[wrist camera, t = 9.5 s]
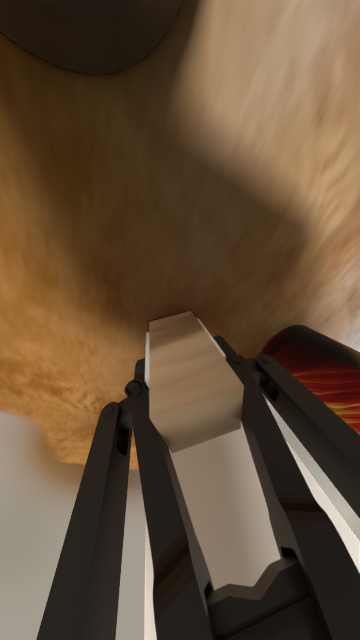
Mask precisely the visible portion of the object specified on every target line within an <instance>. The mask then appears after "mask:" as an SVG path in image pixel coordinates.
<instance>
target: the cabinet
mask: <svg viewBox="0 0 360 640" xmlns="http://www.w3.org/2000/svg"><path fill="white" fill-rule="evenodd" d="M285 440H286V439H285ZM286 442H287V441H286ZM287 444H288V442H287ZM288 446H289V448H290V451H291V453H292V455H293V457H294V459H295V461H296V463H297V465H298V467H299V469H300V471H301V473H302V475H303V477H304V479H305V481H306V483H307V485H308V487H309V489H310V491H311V493H312V495H313V496H314V498H315V500H316V501H317V503H318V504H319V505H320V506H321V508H322V509H323V510H324V511H325V512H326V513H327V515H328V516H329V518H330V519H331V521H332V522H333V524H334V526H335V527H336V529H337V531H338V533H339V535H340V537H341V538H342V540H343V542H344V544H345V546H346V548H347V550H348V552H349V554H350V556H351V558H352V559H353V561H354V563H355V565H356V567H357V569H358V571H359V573H360V541H359V540H358V539H357V537H356V536H355V534H354V533H353V532H352V530H351V529H350V528H349V526H348V525H347V523H346V522H345V521H344V519H343V518H342V517H341V515H340V514H339V513H338V511H337V510H336V508H335V507H334V505H333V504H332V503H331V501H330V500H329V499H328V497H327V496H326V494H325V493H324V492H323V491H322V489H321V488H320V486H319V485H318V483H317V482H316V481H315V479H314V478H313V477H312V475H311V474H310V472H309V471H308V470H307V468H306V467H305V466H304V464H303V463H302V461H301V460H300V459H299V457H298V456H297V454H296V453H295V452H294V450H293V449H292V448H291V446H290V445H289V444H288ZM169 451H170V449H169ZM170 454H171V458H172V461H173V464H174V467H175V470H176V473H177V477H178V480H179V483H180V486H181V489H182V493H183V496H184V499H185V502H186V505H187V508H188V512H189V515H190V518H191V521H192V524H193V528H194V531H195V534H196V537H197V540H198V542H199V545H200V547H201V549H202V552H203V555H204V558H205V561H206V564H207V567H208V570H209V573H210V577H211V580H212V583H213V586H214V589H215V590H216V589H218V588H220V587H223V586H225V585H227V584H236V585H243V586H250V587H252V586H254V585H255V584H256V582H257V581H258V579H259V578H260V576H261V575H262V574H263V572H264V571H265V569H266V568H267V566H268V565H269V564H271V563H273V562H275V561H277V560H279V559H281V558H280V554H279V551H278V548H277V544H276V541H275V538H274V534H273V531H272V527H271V523H270V519H269V513H268V508H267V504H266V501H265V498H264V494H263V491H262V488H261V484H260V481H259V478H258V475H257V471H256V468H255V465H254V461H253V458H252V455H251V452H250V448H249V445H248V442H247V439H246V435H245V432H244V429H243V425H242V422H241V429H238V430H235V431H232V432H230V433H227V434H224V435H222V436H219V437H216V438H214V439H211V440H208V441H205V442H203V443H200V444H197V445H195V446H192V447H189V448H186V449H184V450H181V451H178V452H176V453H173V454H172V452H171V451H170ZM145 532H146V534H145V535H146V536H145V628H144V629H145V632H144V640H157V637H156V629H155V620H154V610H153V580H154V575H153V563H152V556H151V549H150V542H149V535H148V528H147V521H146V531H145Z"/></svg>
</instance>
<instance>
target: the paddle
mask: <svg viewBox="0 0 360 640" xmlns="http://www.w3.org/2000/svg"><path fill="white" fill-rule="evenodd" d="M243 392H244V385H243V384H242V382H241V381H240V380H239V378H238V377H237V375H236V374H235V372H234V371H233V370H232V368H231V367H230V365H229V364H228V363H227V361H226V360H225V358H224V357H223V356H222V354H221V353H220V351H219V350H218V348H217V347H216V346H215V344H214V343H213V341H212V340H211V339H210V337H209V336H208V334H207V333H206V331H205V330H204V329H203V327H202V326H201V324H200V323H199V322H198V320H197V319H196V317H195V316H194V314H193V313H192V312H191V311H187V312H184V313H180V314H176V315H173V316H169V317H165V318H162V319H158V320H155V321H151V322H149V418H150V420H151V421H152V423H153V424H154V426H155V427H156V429H157V431H158V432H159V434H160V435H161V437H162V438H163V440H164V441H165V443H166V445H167V446H168V448H169V449H170V451H171V452H172V454H173V453H176V452H178V451H181V450H184V449H186V448H189V447H192V446H195V445H197V444H200V443H203V442H205V441H208V440H211V439H214V438H216V437H219V436H222V435H224V434H227V433H230V432H232V431H235V430H238V429H241V415H242V403H243Z"/></svg>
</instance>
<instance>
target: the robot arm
mask: <svg viewBox="0 0 360 640" xmlns="http://www.w3.org/2000/svg"><path fill="white" fill-rule="evenodd" d="M182 2H183V0H0V32H1V33H2V34H4V35H5V36H6V37H8V38H9V39H11V40H12V41H13V42H15V43H16V44H18V45H19V46H21V47H22V48H24V49H26V50H27V51H29V52H31V53H32V54H34V55H36V56H38V57H40V58H41V59H43V60H45V61H47V62H50V63H52V64H54V65H57V66H59V67H62V68H65V69H68V70H71V71H76V72H80V73H87V74H107V73H113V72H117V71H120V70H123V69H126V68H128V67H130V66H132V65H134V64H135V63H137V62H138V61H140V60H141V59H143V58H144V57H145V56H146V55H147V54H149V53H150V52H151V51H152V50H153V48H154V47H155V46H156V45H157V44H158V43H159V42H160V40H161V39H162V38H163V36H164V35H165V34H166V32H167V30H168V29H169V27H170V26H171V24H172V22H173V21H174V19H175V17H176V15H177V13H178V11H179V9H180V7H181V4H182ZM197 320H198V322H199V323H200V324H201V326H202V327H203V329H204V330H205V331H206V333H207V334H208V336H209V337H210V339H211V340H212V341H213V343H214V344H215V346H216V347H217V348H218V350H219V351H220V353H221V354H222V356H223V357H224V358H225V360H226V361H227V363H228V364H229V365H230V367H231V368H232V370H233V371H234V372H235V374H236V375H237V377H238V378H239V380H240V381H241V382H242V384H243V385H244V392H243V403H242V415H241V422H242V425H243V429H244V432H245V435H246V439H247V442H248V445H249V448H250V452H251V455H252V458H253V461H254V465H255V468H256V471H257V475H258V478H259V481H260V484H261V488H262V491H263V494H264V498H265V501H266V504H267V508H268V513H269V519H270V523H271V527H272V531H273V534H274V538H275V541H276V544H277V548H278V551H279V554H280V558H281V559H279V560H277V561H275V562H273V563H271V564H269V565H268V566H267V568H266V569H265V571H264V572H263V574H262V575H261V576H260V578H259V579H258V581H257V582H256V584H255V585H254V586H252V587H250V586H243V585H236V584H227V585H225V586H223V587H220V588H218V589H216V590H215V589H214V586H213V583H212V580H211V577H210V573H209V570H208V567H207V564H206V561H205V558H204V555H203V552H202V549H201V547H200V545H199V542H198V540H197V537H196V534H195V531H194V528H193V524H192V521H191V518H190V515H189V512H188V508H187V505H186V502H185V499H184V496H183V493H182V489H181V486H180V483H179V480H178V477H177V473H176V470H175V467H174V464H173V461H172V458H171V454H170V451H169V448H168V446H167V445H166V443H165V441H164V440H163V438H162V437H161V435H160V434H159V432H158V431H157V429H156V427H155V426H154V424H153V423H152V421H151V420H150V418H149V332H147V333H146V355H145V358H144V359H140V360H138V361H137V363H136V366H135V375H134V379H133V380H131V381H130V382H129V383H128V384H127V385H126V387H125V391H124V392H125V393H126V394H127V396H128V397H127V398H125V399H124V400H122V401H121V402H119V403H117V402H111V403H109V404H107V405H106V406H105V407H104V408H103V410H102V411H101V413H100V416H99V420H98V423H97V427H96V430H95V434H94V437H93V441H92V445H91V448H90V452H89V455H88V459H87V462H86V466H85V469H84V473H83V476H82V480H81V483H80V487H79V491H78V494H77V498H76V502H75V505H74V509H73V512H72V515H71V519H70V523H69V526H68V530H67V533H66V537H65V540H64V544H63V547H62V551H61V554H60V558H59V561H58V565H57V568H56V572H55V576H54V579H53V583H52V586H51V590H50V593H49V597H48V601H47V604H46V607H45V611H44V614H43V618H42V622H41V625H40V629H39V632H38V636H37V639H36V640H115V637H116V624H117V612H118V599H119V587H120V574H121V561H122V549H123V537H124V523H125V511H126V499H127V487H128V474H129V462H130V449H131V437H132V426H133V430H134V437H135V444H136V451H137V458H138V465H139V472H140V479H141V486H142V493H143V500H144V507H145V514H146V521H147V528H148V535H149V542H150V549H151V556H152V563H153V575H154V580H153V610H154V620H155V629H156V637H157V640H360V573H359V571H358V569H357V567H356V565H355V563H354V561H353V559H352V558H351V556H350V554H349V552H348V550H347V548H346V546H345V544H344V542H343V540H342V538H341V537H340V535H339V533H338V531H337V529H336V527H335V526H334V524H333V522H332V521H331V519H330V518H329V516H328V515H327V513H326V512H325V511H324V510H323V509H322V508H321V506H320V505H319V504H318V503H317V501H316V500H315V498H314V496H313V495H312V493H311V491H310V489H309V487H308V485H307V483H306V481H305V479H304V477H303V475H302V473H301V471H300V469H299V467H298V465H297V463H296V461H295V459H294V457H293V455H292V453H291V451H290V448H289V446H288V444H287V442H286V440H285V438H284V436H283V435H282V433H281V430H280V428H279V426H278V425H277V422H276V420H275V418H274V416H273V415H272V412H271V410H270V408H269V406H268V404H267V402H266V400H265V398H264V396H263V394H264V395H265V397H266V398H267V399H268V401H269V402H270V403H271V405H272V406H273V407H274V408H275V410H276V411H277V412H278V413H279V415H280V416H281V417H282V418H283V420H284V421H285V423H286V424H287V425H288V426H289V428H290V429H291V430H292V432H293V433H294V434H295V435H296V437H297V438H298V439H299V441H300V442H301V443H302V444H303V446H304V447H305V448H306V449H307V451H308V452H309V453H310V455H311V456H312V457H313V459H314V460H315V461H316V462H317V464H318V465H319V466H320V468H321V469H322V470H323V472H324V473H325V474H326V475H327V477H328V478H329V479H330V481H331V482H332V483H333V484H334V486H335V487H336V488H337V490H338V491H339V492H340V493H341V495H342V496H343V497H344V499H345V500H346V501H347V502H348V504H349V505H350V506H351V508H352V509H353V510H354V512H355V513H356V514H357V515H358V517H359V518H360V435H359V434H358V433H357V432H356V431H355V430H354V429H353V428H351V427H350V426H349V425H348V424H347V423H346V422H345V421H344V420H343V419H341V418H340V417H339V416H338V415H337V414H336V413H335V412H334V411H332V410H331V409H330V408H329V407H328V406H327V405H326V404H325V403H323V402H322V401H321V400H320V399H319V398H318V397H317V396H316V395H314V394H313V393H312V392H311V391H310V390H309V389H308V388H307V387H305V386H304V385H303V384H302V383H301V382H300V381H299V380H298V379H296V378H295V377H294V376H293V375H292V374H291V373H290V372H289V371H287V370H286V369H285V368H284V367H283V366H282V365H281V364H280V363H278V362H277V361H276V360H275V359H274V358H273V357H271V356H269V355H267V354H259V355H257V357H256V359H245V358H243V357H242V356H239V355H237V354H236V353H235V351H234V350H233V349H232V348H231V347H230V345H228V343H227V342H226V341H225V340H224V338H222V337H220V336H216V337H212V336H211V334H210V333H209V332H208V330H207V329H206V328H205V326H204V325H203V323H202V322H201V321H200V319H199V318H197ZM262 393H263V394H262Z"/></svg>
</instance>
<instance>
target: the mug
mask: <svg viewBox="0 0 360 640" xmlns="http://www.w3.org/2000/svg"><path fill="white" fill-rule="evenodd" d="M262 354H267V355H269V356H271V357H273V358H274V359H275V360H276V361H277V362H278V363H280V364H281V365H282V366H283V367H284V368H285V369H286V370H287V371H289V372H290V373H291V374H292V375H293V376H294V377H295V378H296V379H298V380H299V381H300V382H301V383H302V384H303V385H304V386H305V387H307V388H308V389H309V390H310V391H311V392H312V393H313V394H314V395H316V396H317V397H318V398H319V399H320V400H321V401H322V402H323V403H325V404H326V405H327V406H328V407H329V408H330V409H331V410H332V411H334V412H335V413H336V414H337V415H338V416H339V417H340V418H341V419H343V420H344V421H345V422H346V423H347V424H348V425H349V426H350V427H351V428H353V429H354V430H355V431H356V432H357V433H358V434H359V435H360V352H358V351H356V350H354V349H352V348H350V347H348V346H345V345H343V344H341V343H339V342H337V341H335V340H333V339H331V338H329V337H327V336H325V335H323V334H321V333H318V332H316V331H314V330H312V329H310V328H308V327H306V326H303V325H294V326H291V327H288V328H286V329H284V330H282V331H280V332H279V333H278V334H276V335H275V336H274V337H273V338H272V339H271V340H270V341H269V342H268V343H267V344H266V346H265V347H264V349H263V351H262Z"/></svg>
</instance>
